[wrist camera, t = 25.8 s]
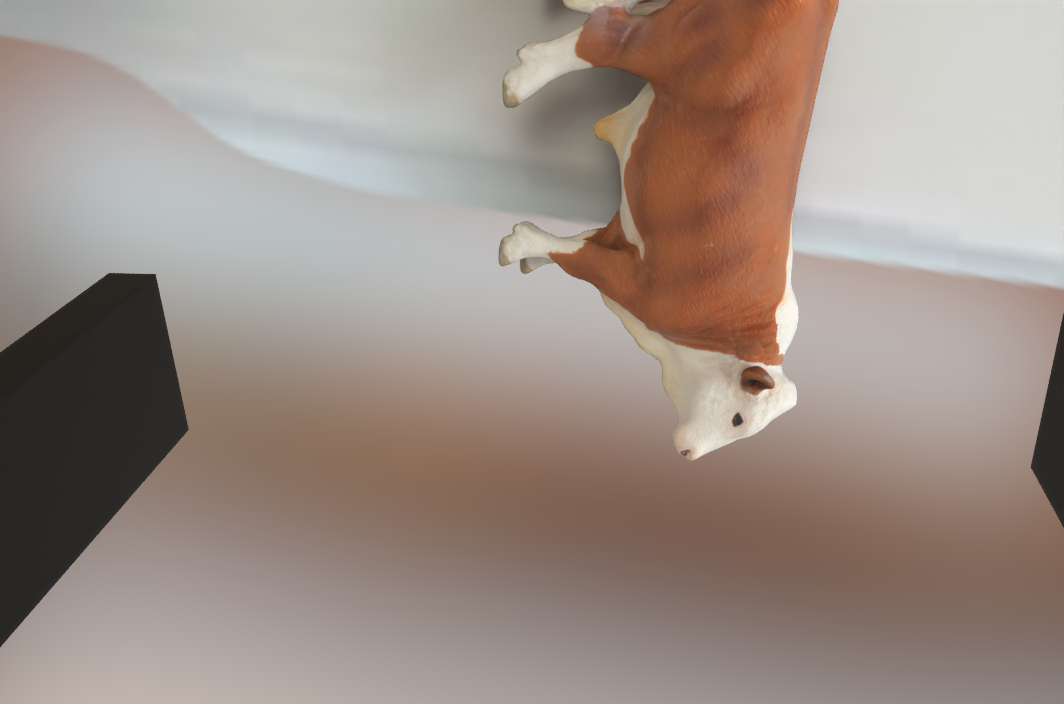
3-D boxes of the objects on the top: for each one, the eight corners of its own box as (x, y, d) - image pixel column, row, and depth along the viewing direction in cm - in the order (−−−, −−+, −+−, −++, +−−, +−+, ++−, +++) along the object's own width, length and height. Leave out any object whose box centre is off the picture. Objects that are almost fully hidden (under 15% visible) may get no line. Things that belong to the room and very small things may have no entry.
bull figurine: (477, 439, 28) (778, 502, 26) (506, -95, 22) (905, -56, 20) (520, 366, 32) (786, 418, 30) (555, -106, 25) (894, -73, 24)
